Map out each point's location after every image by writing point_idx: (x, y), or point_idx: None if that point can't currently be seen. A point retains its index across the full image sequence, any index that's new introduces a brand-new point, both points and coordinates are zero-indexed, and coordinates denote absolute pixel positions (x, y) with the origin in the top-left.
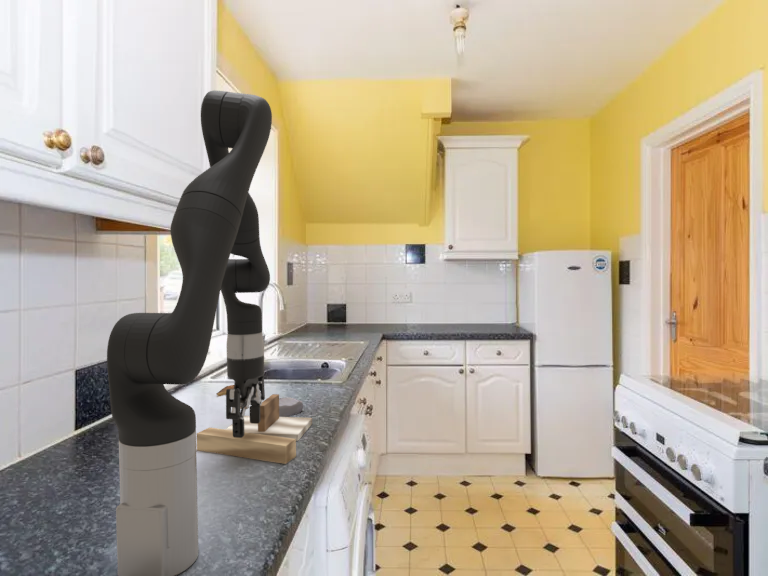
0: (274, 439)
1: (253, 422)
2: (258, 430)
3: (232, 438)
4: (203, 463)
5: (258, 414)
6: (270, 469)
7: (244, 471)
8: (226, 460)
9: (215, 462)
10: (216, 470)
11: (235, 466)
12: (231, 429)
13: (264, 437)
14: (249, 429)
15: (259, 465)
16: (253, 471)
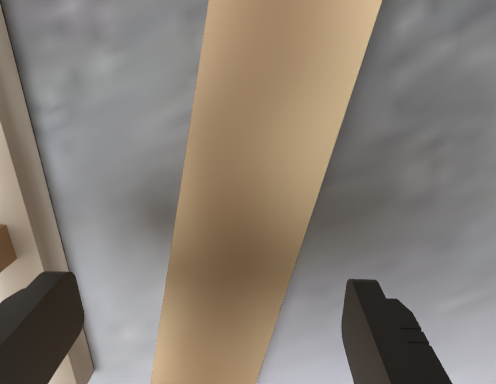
0: (268, 59)
1: (76, 307)
2: (12, 259)
3: (272, 331)
4: None
5: (28, 321)
6: (452, 12)
7: (464, 151)
8: (327, 275)
9: None
10: (437, 274)
11: (397, 214)
12: None
13: (234, 154)
14: None
15: (390, 101)
16: (470, 104)
